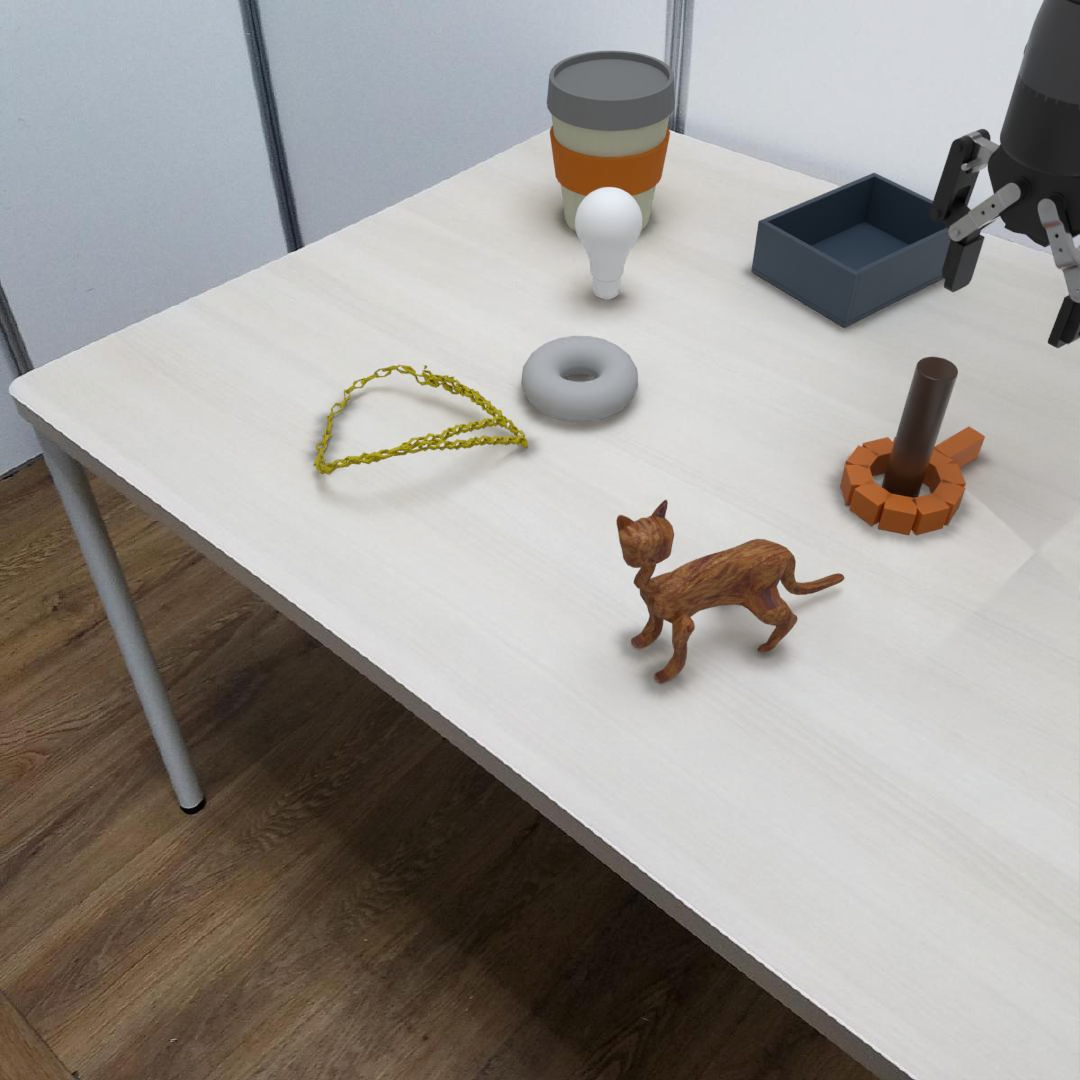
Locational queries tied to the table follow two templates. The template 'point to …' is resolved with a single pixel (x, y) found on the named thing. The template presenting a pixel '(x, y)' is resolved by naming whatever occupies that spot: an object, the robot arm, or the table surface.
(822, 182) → the table surface
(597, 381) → the donut
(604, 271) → the lightbulb
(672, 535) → the cat figurine
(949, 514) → the ring
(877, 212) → the bin
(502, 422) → the decorative chain
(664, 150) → the reusable coffee cup
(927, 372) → the post
